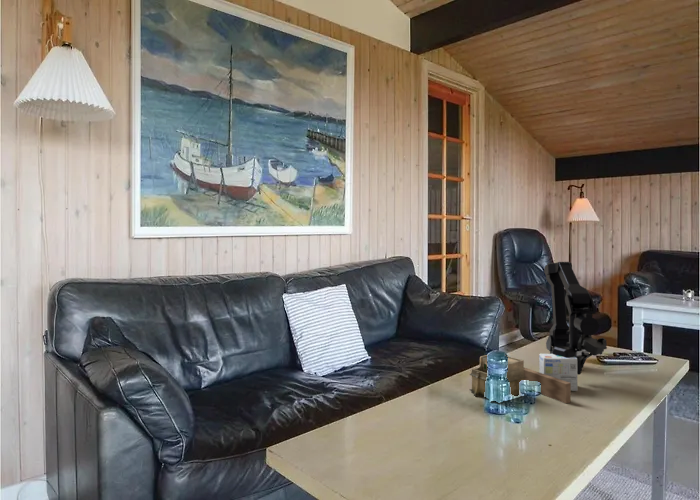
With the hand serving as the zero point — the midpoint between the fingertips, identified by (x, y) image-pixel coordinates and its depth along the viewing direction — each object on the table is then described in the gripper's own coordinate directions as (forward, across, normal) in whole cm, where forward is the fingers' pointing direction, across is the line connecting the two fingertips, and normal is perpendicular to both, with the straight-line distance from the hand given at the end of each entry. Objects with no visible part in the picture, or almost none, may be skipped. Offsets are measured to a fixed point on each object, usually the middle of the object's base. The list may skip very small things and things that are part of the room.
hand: (578, 374), depth 164 cm
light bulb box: (+3, -10, 0) cm, 10 cm away
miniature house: (+3, -31, +6) cm, 32 cm away
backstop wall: (+3, -18, 0) cm, 18 cm away
